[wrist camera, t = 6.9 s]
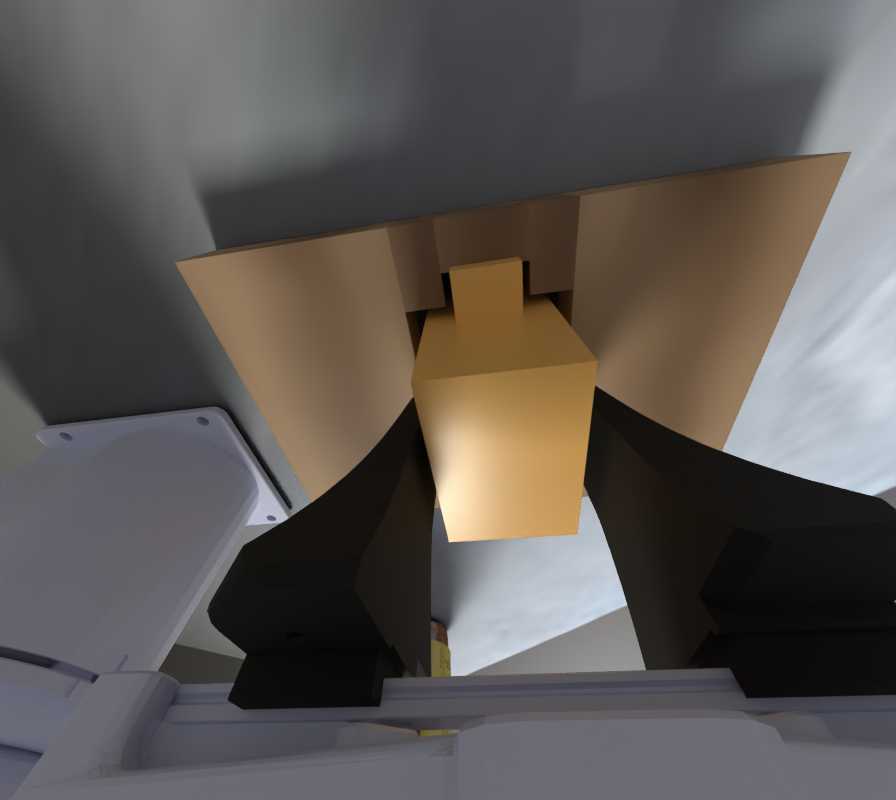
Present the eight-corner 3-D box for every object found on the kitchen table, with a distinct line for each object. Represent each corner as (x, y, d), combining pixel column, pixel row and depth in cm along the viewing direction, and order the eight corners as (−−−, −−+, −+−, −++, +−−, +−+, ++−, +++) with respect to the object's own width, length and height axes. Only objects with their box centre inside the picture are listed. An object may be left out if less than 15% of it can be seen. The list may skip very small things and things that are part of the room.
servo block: (456, 449, 16) (455, 567, 11) (422, 258, 11) (394, 316, 6) (537, 442, 16) (574, 561, 11) (539, 240, 11) (606, 288, 6)
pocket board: (333, 486, 18) (320, 517, 16) (215, 250, 11) (174, 262, 10) (680, 455, 16) (706, 486, 14) (782, 157, 10) (851, 152, 8)
